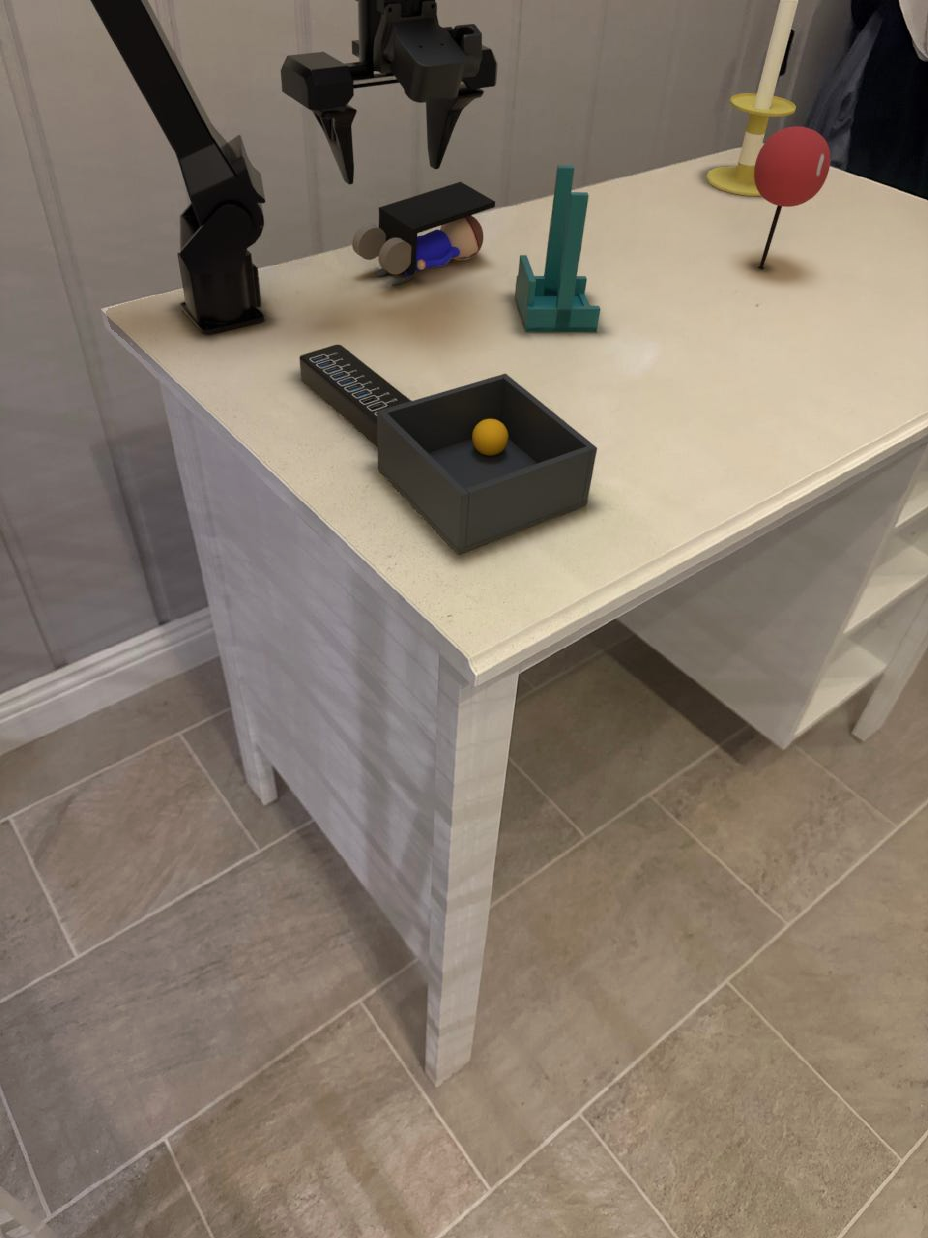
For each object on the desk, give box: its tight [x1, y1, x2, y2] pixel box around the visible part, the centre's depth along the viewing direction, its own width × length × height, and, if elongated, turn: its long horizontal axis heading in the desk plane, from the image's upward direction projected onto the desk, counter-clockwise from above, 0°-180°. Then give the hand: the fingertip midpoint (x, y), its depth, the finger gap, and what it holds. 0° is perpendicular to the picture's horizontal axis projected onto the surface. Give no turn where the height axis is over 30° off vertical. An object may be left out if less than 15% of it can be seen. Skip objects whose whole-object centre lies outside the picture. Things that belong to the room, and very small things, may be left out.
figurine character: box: [351, 181, 496, 286], centre depth 99 cm, size 7×8×15 cm
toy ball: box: [472, 419, 508, 456], centre depth 76 cm, size 3×3×3 cm
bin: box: [377, 373, 598, 555], centre depth 72 cm, size 12×12×6 cm
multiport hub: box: [298, 344, 412, 447], centre depth 80 cm, size 4×14×2 cm, turn 37°
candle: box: [705, 0, 799, 197], centre depth 117 cm, size 10×10×27 cm
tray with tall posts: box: [514, 164, 601, 333], centre depth 91 cm, size 7×7×14 cm
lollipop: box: [754, 126, 831, 270], centre depth 101 cm, size 8×8×15 cm
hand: (392, 175), depth 86 cm, fingers open, 9 cm apart
